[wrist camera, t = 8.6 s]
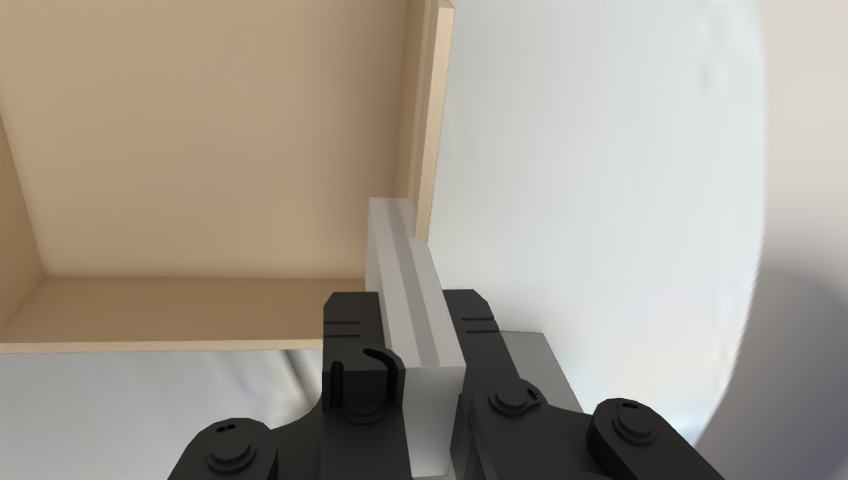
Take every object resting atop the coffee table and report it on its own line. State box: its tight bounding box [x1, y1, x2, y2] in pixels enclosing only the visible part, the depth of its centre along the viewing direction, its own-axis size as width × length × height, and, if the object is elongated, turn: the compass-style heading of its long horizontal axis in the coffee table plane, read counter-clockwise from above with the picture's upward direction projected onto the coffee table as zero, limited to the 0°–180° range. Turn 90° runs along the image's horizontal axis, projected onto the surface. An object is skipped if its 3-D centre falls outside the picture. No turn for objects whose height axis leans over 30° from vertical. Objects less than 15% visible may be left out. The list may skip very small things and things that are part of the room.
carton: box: [0, 0, 431, 354], centre depth 20 cm, size 16×15×5 cm
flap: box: [412, 0, 455, 242], centre depth 16 cm, size 6×13×1 cm
